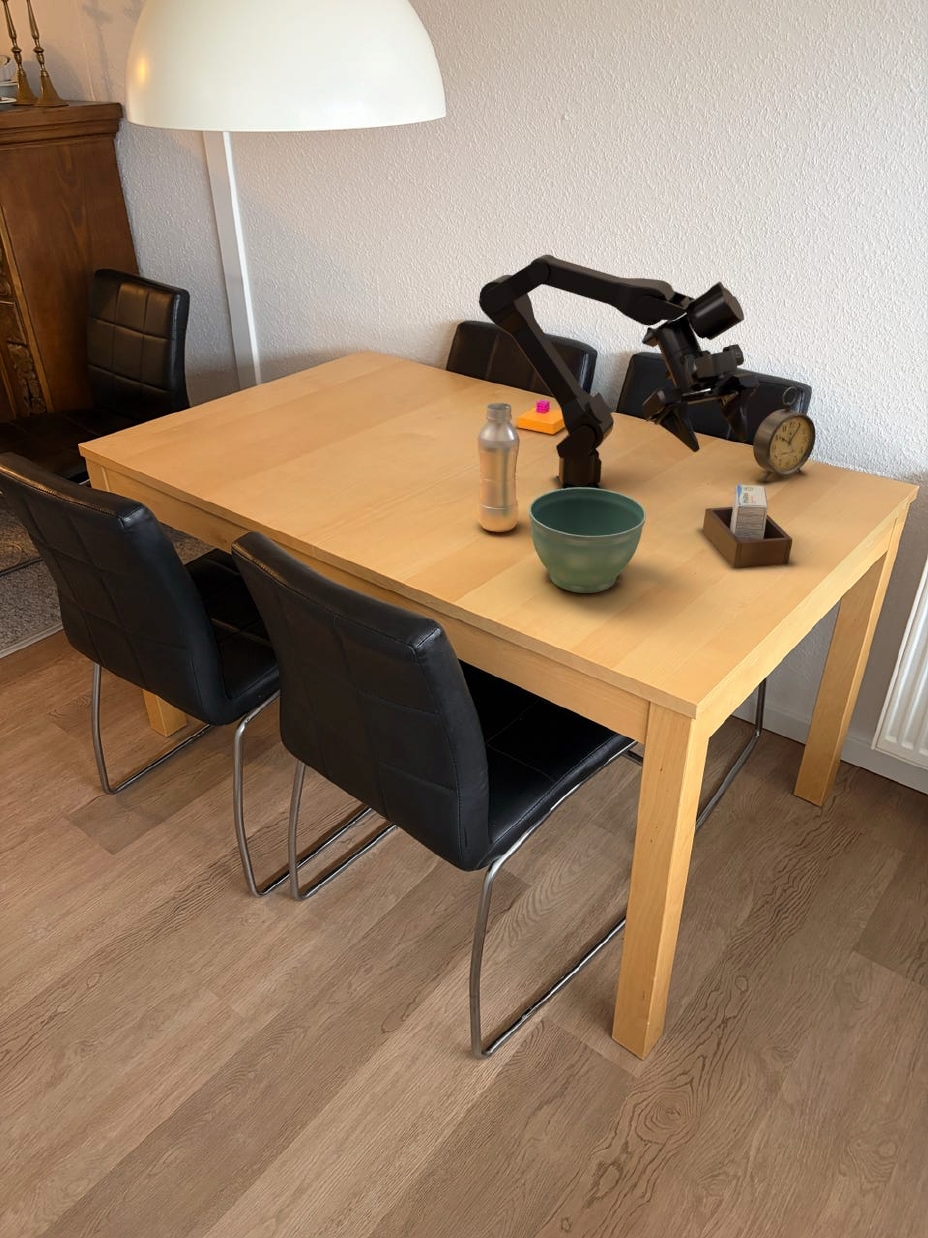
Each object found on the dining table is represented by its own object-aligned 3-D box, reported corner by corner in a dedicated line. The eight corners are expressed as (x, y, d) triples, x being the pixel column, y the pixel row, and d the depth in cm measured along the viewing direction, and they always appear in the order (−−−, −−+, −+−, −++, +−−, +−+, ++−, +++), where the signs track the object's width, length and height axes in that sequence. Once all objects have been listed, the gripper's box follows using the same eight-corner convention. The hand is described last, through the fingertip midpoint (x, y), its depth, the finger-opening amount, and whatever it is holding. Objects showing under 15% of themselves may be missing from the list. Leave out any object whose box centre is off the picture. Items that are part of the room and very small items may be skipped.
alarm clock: (763, 486, 170) (778, 395, 162) (742, 476, 174) (755, 387, 166) (810, 475, 174) (827, 386, 166) (789, 465, 178) (804, 377, 170)
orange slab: (571, 422, 198) (572, 402, 196) (552, 434, 193) (553, 413, 190) (536, 416, 202) (537, 396, 200) (517, 427, 196) (518, 406, 194)
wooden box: (733, 567, 144) (736, 543, 142) (702, 531, 155) (705, 508, 153) (788, 563, 145) (792, 539, 143) (753, 527, 156) (757, 504, 154)
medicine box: (760, 559, 146) (769, 506, 142) (729, 557, 147) (737, 504, 142) (757, 537, 153) (765, 485, 148) (728, 534, 153) (735, 483, 149)
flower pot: (663, 586, 139) (670, 516, 134) (573, 618, 132) (577, 545, 126) (590, 544, 151) (595, 479, 145) (505, 571, 143) (506, 503, 138)
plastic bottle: (506, 540, 152) (508, 416, 142) (469, 530, 155) (468, 408, 145) (526, 525, 157) (529, 404, 147) (489, 516, 160) (490, 396, 150)
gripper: (660, 334, 141) (700, 431, 138) (760, 319, 148) (800, 410, 145) (624, 374, 151) (661, 465, 148) (719, 358, 158) (756, 444, 155)
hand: (721, 445), depth 149 cm, fingers open, 9 cm apart
